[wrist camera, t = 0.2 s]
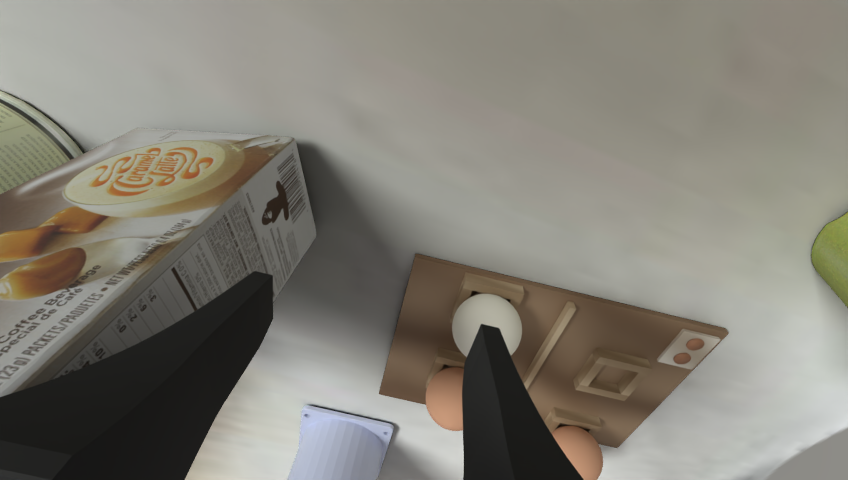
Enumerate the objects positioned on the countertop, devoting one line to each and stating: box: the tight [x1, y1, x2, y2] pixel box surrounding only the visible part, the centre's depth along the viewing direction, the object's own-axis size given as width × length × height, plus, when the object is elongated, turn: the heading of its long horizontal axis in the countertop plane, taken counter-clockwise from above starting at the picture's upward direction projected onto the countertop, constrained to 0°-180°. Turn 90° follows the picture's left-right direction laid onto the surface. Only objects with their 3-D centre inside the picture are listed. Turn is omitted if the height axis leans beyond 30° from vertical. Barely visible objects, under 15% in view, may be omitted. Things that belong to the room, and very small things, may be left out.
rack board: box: [379, 254, 728, 448], centre depth 27 cm, size 14×20×1 cm
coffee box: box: [0, 128, 316, 397], centre depth 15 cm, size 9×6×16 cm
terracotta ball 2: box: [551, 425, 603, 480], centre depth 29 cm, size 4×4×4 cm
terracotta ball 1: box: [426, 367, 464, 431], centre depth 26 cm, size 4×4×4 cm
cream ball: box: [452, 294, 522, 357], centre depth 23 cm, size 4×4×4 cm
